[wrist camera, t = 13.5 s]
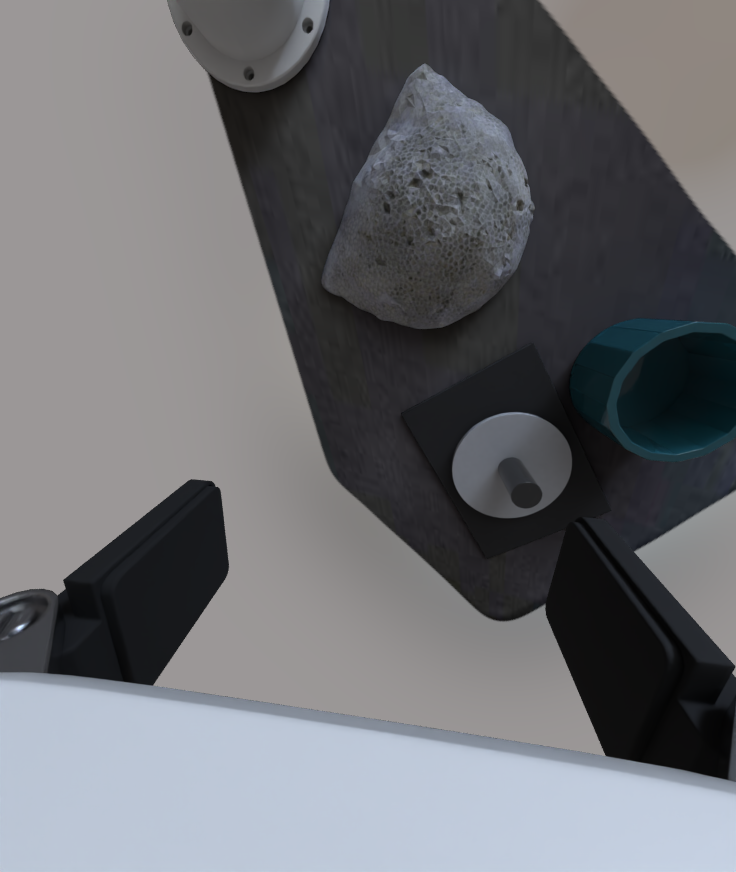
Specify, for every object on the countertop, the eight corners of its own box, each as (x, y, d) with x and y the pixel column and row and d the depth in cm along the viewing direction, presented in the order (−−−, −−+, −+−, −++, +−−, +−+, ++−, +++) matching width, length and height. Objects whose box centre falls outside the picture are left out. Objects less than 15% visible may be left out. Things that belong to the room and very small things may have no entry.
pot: (584, 315, 33) (630, 318, 26) (711, 321, 32) (795, 326, 25) (557, 426, 36) (592, 455, 29) (670, 435, 35) (734, 467, 28)
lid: (458, 406, 36) (468, 427, 30) (580, 414, 35) (616, 439, 29) (444, 506, 40) (450, 544, 34) (553, 517, 39) (580, 558, 33)
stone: (407, 26, 25) (605, 123, 22) (424, 104, 32) (576, 184, 30) (290, 269, 30) (440, 368, 28) (327, 289, 37) (449, 369, 35)
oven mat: (401, 412, 38) (401, 414, 37) (531, 342, 34) (533, 343, 33) (486, 555, 43) (487, 559, 42) (608, 507, 39) (611, 510, 38)
